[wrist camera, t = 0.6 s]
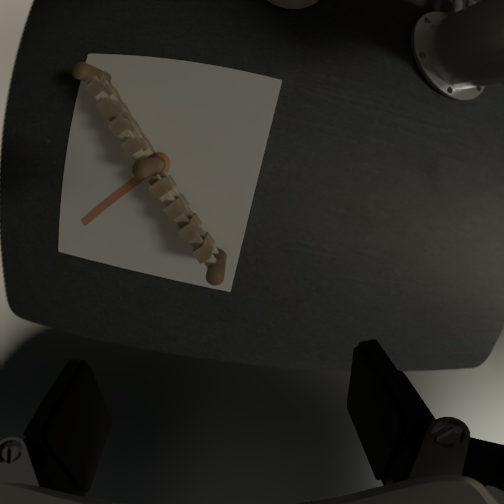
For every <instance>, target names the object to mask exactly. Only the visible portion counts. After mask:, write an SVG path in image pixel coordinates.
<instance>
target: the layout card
mask: <svg viewBox="0 0 504 504" xmlns="http://www.w3.org/2000/svg"><path fill="white" fill-rule="evenodd" d="M86 63H87V64H89V65H92V66H94V67H96V68H98V69H100V70H102V71H104V72H107V73H109V74H110V75H111V82H110V83H109V85H110V86H113V87H115V88H116V90H117V91H118V93H119V95H120V97H119V98H118V99H119V101H120V102H122V103H125V104H126V106H127V107H128V109H129V110H130V112H131V113H130V114H129V116H130V118H131V119H132V120H136V121H137V123H138V124H139V126H140V128H141V129H142V131H140V134H141V135H142V137H143V138H148V140H149V141H150V143H151V145H152V146H153V149H152V150H151V151H152V152H153V154H152V155H150V156H149V157H148V158H151V157H157V156H159V157H162V158H163V159H164V160H165V162H166V167H165V169H164V170H163V171H162V172H160V173H157V174H154V175H151V176H149V177H146V178H143V179H139V178H137V177H135V176H134V174H133V172H132V166H133V164H134V163H135V162H136V161H137V160H136V161H135V160H134V159H133V157H132V156H130V157H128V156H127V155H126V153H125V152H124V150H123V149H122V147H121V144H122V143H123V141H122V140H121V138H120V137H119V136H114V134H113V133H112V131H111V130H110V128H109V126H108V124H109V123H110V121H109V119H108V118H107V117H106V116H102V115H101V113H100V112H99V110H98V108H97V107H96V104H98V101H97V100H96V98H93V97H90V95H89V93H88V92H87V90H86V88H85V86H86V85H87V83H86V82H85V81H82V80H81V82H80V86H79V90H78V95H77V99H76V104H75V108H74V113H73V118H72V123H71V129H70V134H69V140H68V146H67V153H66V160H65V167H64V175H63V184H62V195H61V206H60V221H59V245H58V252H62V253H66V254H70V255H74V256H77V257H81V258H85V259H89V260H93V261H97V262H101V263H105V264H109V265H113V266H117V267H121V268H125V269H129V270H134V271H138V272H142V273H146V274H151V275H155V276H159V277H164V278H168V279H172V280H177V281H181V282H186V283H190V284H195V285H200V286H204V287H209V288H214V289H218V290H223V291H228V292H231V287H232V283H233V279H234V275H235V271H236V266H237V262H238V258H239V254H240V250H241V245H242V241H243V237H244V233H245V229H246V225H247V220H248V216H249V212H250V208H251V204H252V200H253V196H254V192H255V188H256V183H257V179H258V175H259V171H260V167H261V163H262V159H263V155H264V151H265V147H266V143H267V139H268V135H269V131H270V127H271V123H272V119H273V115H274V111H275V107H276V103H277V99H278V95H279V91H280V87H281V83H282V80H279V79H275V78H271V77H267V76H263V75H258V74H254V73H250V72H245V71H240V70H235V69H230V68H225V67H219V66H214V65H208V64H202V63H195V62H188V61H181V60H173V59H165V58H155V57H145V56H131V55H114V54H88V56H87V60H86ZM140 159H143V158H140ZM163 172H166V174H167V175H168V176H170V175H171V177H172V178H173V180H174V181H175V183H176V184H177V186H176V189H177V190H178V192H179V193H180V195H182V194H183V195H184V196H185V198H186V199H187V201H188V202H189V204H190V205H189V206H188V207H189V208H190V210H191V211H192V213H193V214H194V213H196V214H197V216H198V217H199V219H200V220H201V222H202V225H201V226H202V228H203V229H204V231H205V232H209V234H210V235H211V237H212V238H213V240H214V241H215V243H214V245H215V247H216V248H217V249H221V250H223V251H225V253H226V255H227V259H226V267H225V275H224V281H223V282H222V283H221V284H220V285H217V286H214V285H211V284H209V283H208V282H207V280H206V272H207V267H206V265H205V264H204V262H203V263H202V264H200V263H199V262H198V260H197V259H196V257H195V256H194V255H193V253H192V252H193V250H194V248H193V247H192V245H191V244H190V242H187V243H185V242H184V240H183V239H182V237H181V236H180V234H179V233H178V232H177V231H178V230H179V229H180V228H179V226H178V225H177V223H176V222H175V220H173V221H172V222H171V221H170V220H169V218H168V217H167V216H166V214H165V213H164V211H163V209H164V208H165V206H164V204H163V203H162V201H161V200H160V198H159V199H157V200H156V199H155V198H154V196H153V195H152V193H151V192H150V190H149V189H148V188H149V187H150V186H151V185H150V183H149V182H148V181H149V180H150V179H151V178H153V177H154V176H156V175H158V174H159V175H160V174H162V173H163Z"/></svg>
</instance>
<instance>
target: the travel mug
mask: <svg viewBox="0 0 504 504" xmlns="http://www.w3.org/2000/svg"><path fill="white" fill-rule="evenodd" d="M267 1H268V2H270V3H272V4H274V5H276V6H279V7H282V8H287V9H301V8H306V7H309V6H311V5H313V4H315V3H316V2H317V1H318V0H267Z"/></svg>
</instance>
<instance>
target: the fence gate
mask: <svg viewBox="0 0 504 504" xmlns="http://www.w3.org/2000/svg"><path fill="white" fill-rule="evenodd" d="M148 182H149V183H150V185H151V186H150V187H149V188H148V189H149V190H150V192H151V193H152V195H153V196H154V198H155V199H156V200H157V199H159V198H160V200H161V201H162V203H163V204H164V206H165V208H164V209H163V211H164V213H165V214H166V216H167V217H168V218H169V220H170V221H171V222H172V221H173V220H175V222H176V223H177V225H178V226H179V228H180V229H179V230H178V231H177V232H178V233H179V234H180V236H181V237H182V239H183V240H184V242H185V243H187V242H190V244H191V245H192V247H193V248H194V250H193V252H192V253H193V255H194V256H195V257H196V259H197V260H198V262H199V263H200V264H202V263H203V262H204V264H205V265H206V267H207V272H206V280H207V282H208V283H209V284H211V285H214V286H217V285H220V284H221V283H222V282H223V281H224V275H225V267H226V259H227V255H226V253H225V251H223V250H221V249H217V248H216V247H215V245H214V243H215V241H214V240H213V238H212V237H211V235H210V234H209V232H205V231H204V229H203V228H202V226H201V225H202V222H201V220H200V219H199V217H198V216H197V214H196V213H194V214H193V213H192V211H191V210H190V208H189V207H188V206H189V205H190V204H189V202H188V201H187V199H186V198H185V196H184V195H183V194H182V195H180V193H179V192H178V190H177V189H176V186H177V184H176V183H175V181H174V180H173V178H172V177H171V175H170V176H168V175H167V174H166V172H163V173H162V174H160V175H159V174H158V175H156V176H154V177H153V178H151V179H150V180H149V181H148Z"/></svg>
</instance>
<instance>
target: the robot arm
mask: <svg viewBox="0 0 504 504" xmlns="http://www.w3.org/2000/svg"><path fill="white" fill-rule="evenodd" d="M452 6H453V9H452V10H450V11H448V12H447V13H445V12H439V11H434V12H429V13H427V14H425V15H423V16H422V17H420V18H419V19H418V20H417V21H416V23H415V24H414V27H413V29H412V34H411V46H412V51H413V55H414V58H415V61H416V63H417V65H418V67H419V69H420V71H421V73H422V74H423V76H424V77H425V79H426V80H427V81H428V82H429V83H430V84H431V86H432V87H433V88H434V89H436V90H437V91H438V92H439V93H441V94H442V95H444V96H446V97H447V98H450V99H453V100H458V101H467V100H471V99H474V98H476V97H478V96H479V95H480V94H481V93H482V91H483V90H484V88H485V86H489V85H497V84H504V0H481V1H479V2H477V3H476V2H475V1H473V0H467V1H466V4H465V8H464V9H462V0H453V5H452ZM347 409H348V412H349V414H350V417H351V419H352V422H353V424H354V426H355V429H356V431H357V433H358V436H359V439H360V441H361V443H362V446H363V448H364V451H365V453H366V455H367V458H368V461H369V463H370V466H371V468H372V471H373V473H374V476H375V478H376V479H377V480H380V479H381V481H382V483H383V485H384V486H381V487H376V488H372V489H369V490H365V491H360V492H356V493H352V494H347V495H342V496H337V497H332V498H327V499H321V500H316V501H310V502H304V503H297V504H504V445H501V444H496V443H492V442H488V441H484V440H479V439H475V438H471V437H470V431H469V429H468V427H467V426H466V424H465V423H464V422H462V421H461V420H459V419H456V418H453V417H443V418H438V419H435V418H434V416H433V415H432V413H431V412H430V410H429V409H428V407H427V406H426V404H425V403H424V401H423V400H422V398H421V397H420V395H419V394H418V393H417V391H416V390H415V388H414V387H413V386H412V384H411V382H410V381H409V380H408V378H407V377H406V375H405V374H404V373H403V372H402V371H398V370H397V369H396V367H395V366H394V364H393V363H392V361H391V360H390V359H389V357H388V356H387V354H386V353H385V351H384V350H383V349H382V347H381V346H380V344H379V343H378V341H377V340H375V339H374V340H368V341H363V342H360V343H359V345H358V347H355V348H354V352H353V360H352V369H351V376H350V384H349V391H348V398H347ZM111 426H112V416H111V414H110V411H109V409H108V407H107V405H106V403H105V400H104V398H103V396H102V393H101V391H100V389H99V386H98V384H97V382H96V379H95V377H94V374H93V371H92V369H91V367H90V365H89V364H87V363H86V362H85V361H84V360H69V361H68V362H67V364H66V365H65V367H64V368H63V370H62V371H61V373H60V374H59V376H58V378H57V379H56V380H55V382H54V384H53V385H52V387H51V388H50V390H49V391H48V393H47V395H46V397H45V398H44V400H43V401H42V403H41V404H40V406H39V408H38V409H37V411H36V413H35V414H34V416H33V418H32V419H31V421H30V423H29V424H28V426H27V428H26V430H25V432H24V433H23V435H24V436H25V438H24V440H21V439H20V438H17V437H9V438H5V439H3V440H2V441H0V504H122V503H114V502H109V501H103V500H97V499H92V498H87V497H85V493H86V492H89V490H90V488H91V485H92V482H93V479H94V476H95V473H96V469H97V466H98V463H99V460H100V457H101V454H102V452H103V449H104V446H105V443H106V440H107V437H108V434H109V431H110V429H111Z"/></svg>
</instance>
